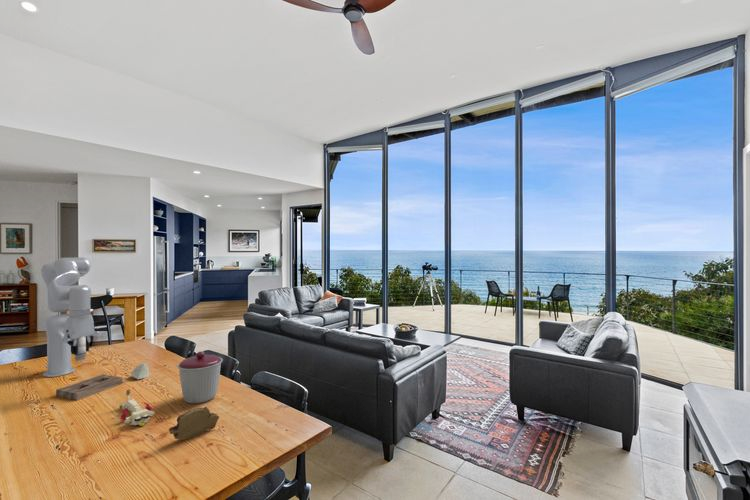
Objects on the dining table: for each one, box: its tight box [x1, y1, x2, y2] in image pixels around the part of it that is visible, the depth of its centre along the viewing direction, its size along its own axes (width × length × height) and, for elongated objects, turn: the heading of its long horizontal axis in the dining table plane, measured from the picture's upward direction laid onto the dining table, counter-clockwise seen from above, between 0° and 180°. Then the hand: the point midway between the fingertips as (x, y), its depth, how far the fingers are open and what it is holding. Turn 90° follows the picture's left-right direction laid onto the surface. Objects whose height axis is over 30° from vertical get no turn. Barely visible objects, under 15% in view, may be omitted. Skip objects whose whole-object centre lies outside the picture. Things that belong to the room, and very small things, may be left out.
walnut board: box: [55, 374, 123, 401], centre depth 162 cm, size 14×20×3 cm
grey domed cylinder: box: [73, 336, 87, 362], centre depth 158 cm, size 4×4×12 cm
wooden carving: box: [168, 406, 220, 440], centre depth 122 cm, size 16×5×10 cm, turn 141°
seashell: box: [130, 362, 150, 380], centre depth 178 cm, size 8×8×8 cm
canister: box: [176, 351, 224, 404], centre depth 153 cm, size 18×18×21 cm
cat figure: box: [118, 389, 155, 427], centre depth 137 cm, size 10×9×25 cm
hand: (80, 352), depth 158 cm, fingers closed on grey domed cylinder, 4 cm apart
